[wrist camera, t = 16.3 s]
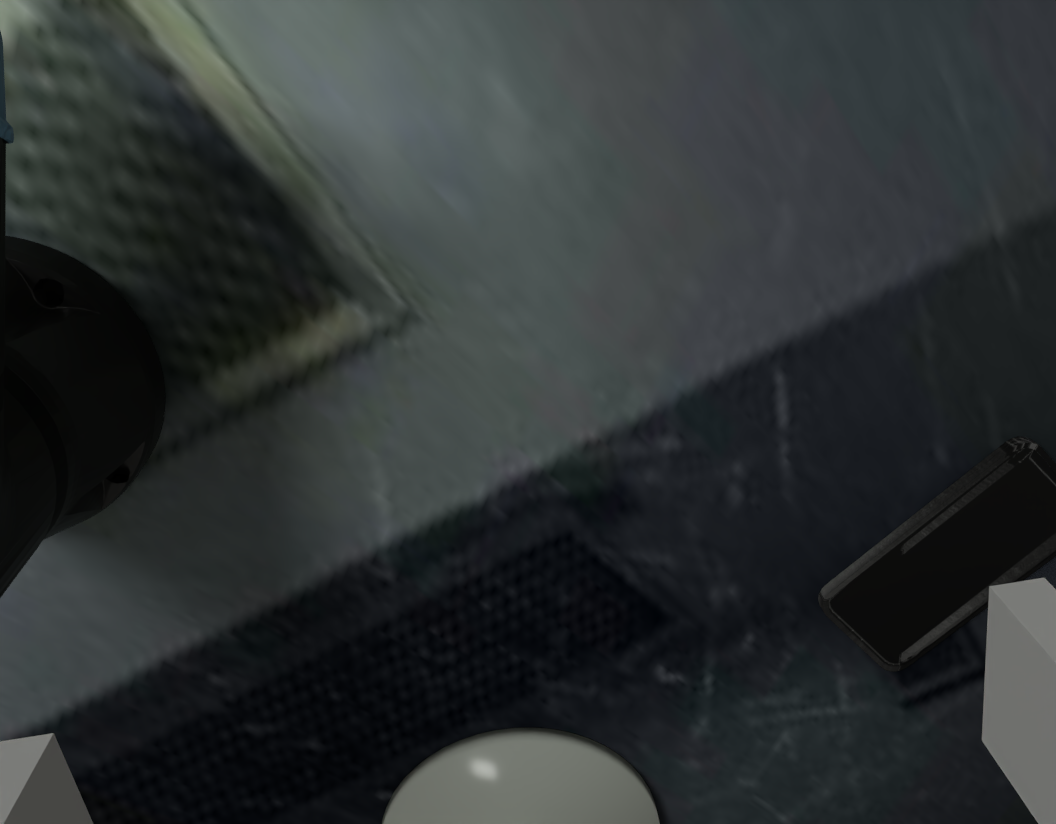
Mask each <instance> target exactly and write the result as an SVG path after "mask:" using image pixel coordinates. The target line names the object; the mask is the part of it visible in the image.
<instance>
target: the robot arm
mask: <svg viewBox="0 0 1056 824" xmlns="http://www.w3.org/2000/svg"><path fill="white" fill-rule="evenodd" d="M13 141H14V133H13V128H12V127H11V126H10V125H9V123H8V122H7V121H6V105H5V83H4V60H3V42H2V36H1V32H0V598H1V596H2V595H3V594H4V592H5V591H6V590H7V588H8V587H9V585H10V584H11V583H12V581H13V580H14V579H15V577H16V576H17V575H18V573H19V572H20V571H21V569H22V568H23V567H24V565H25V564H26V563H27V561H28V560H29V559H30V557H31V556H32V555H33V553H34V552H35V551H36V549H37V548H38V546H39V545H40V543H41V542H42V541H43V540H44V539H46V538H48V537H50V536H52V535H54V534H56V533H59V532H61V531H63V530H65V529H67V528H69V527H72V526H74V525H76V524H78V523H80V522H82V521H84V520H87V519H88V518H90V517H92V516H94V515H96V514H97V513H99V512H100V511H102V510H103V509H105V508H106V507H107V506H109V505H110V504H111V503H113V502H114V501H115V500H116V499H117V498H118V497H119V496H120V495H121V494H122V493H123V492H124V491H125V490H126V489H127V488H128V487H129V486H130V484H131V483H132V482H133V481H134V479H135V478H136V476H137V475H138V473H139V472H140V470H141V469H142V467H143V466H144V464H145V463H146V461H147V460H148V458H149V457H150V455H151V453H152V451H153V449H154V447H155V445H156V443H157V440H158V438H159V435H160V432H161V428H162V424H163V419H164V412H165V386H164V378H163V373H162V369H161V365H160V362H159V358H158V355H157V353H156V350H155V347H154V345H153V343H152V341H151V339H150V336H149V335H148V333H147V331H146V329H145V327H144V326H143V324H142V323H141V321H140V320H139V318H138V316H137V315H136V314H135V312H134V311H133V310H132V308H131V307H130V306H129V305H128V304H127V302H126V301H125V300H124V299H123V298H122V297H121V296H120V295H119V294H118V293H117V292H116V291H115V290H114V289H113V288H112V287H111V286H110V285H109V284H108V283H107V282H106V281H104V280H103V279H102V278H101V277H99V276H98V275H97V274H96V273H94V272H93V271H91V270H90V269H88V268H87V267H86V266H84V265H82V264H81V263H79V262H77V261H76V260H74V259H72V258H70V257H68V256H67V255H65V254H63V253H61V252H58V251H56V250H54V249H51V248H49V247H46V246H44V245H41V244H38V243H35V242H31V241H28V240H24V239H20V238H15V237H10V236H5V193H6V143H13ZM982 742H983V743H984V744H985V746H986V747H987V749H988V750H989V752H990V753H991V755H992V756H993V758H994V759H995V761H996V762H997V764H998V765H999V766H1000V768H1001V769H1002V771H1003V772H1004V774H1005V775H1006V777H1007V778H1008V780H1009V781H1010V783H1011V784H1012V786H1013V787H1014V789H1015V790H1016V791H1017V793H1018V794H1019V796H1020V797H1021V799H1022V800H1023V802H1024V803H1025V805H1026V806H1027V808H1028V809H1029V811H1030V812H1031V814H1032V815H1033V816H1034V818H1035V819H1036V821H1037V822H1038V824H1056V589H1055V588H1054V587H1053V586H1052V585H1051V584H1050V583H1049V582H1048V581H1047V580H1046V579H1045V578H1039V579H1033V580H1027V581H1020V582H1014V583H1007V584H1001V585H995V586H989V601H988V622H987V643H986V663H985V684H984V705H983V726H982ZM0 824H93V822H92V820H91V818H90V815H89V813H88V811H87V808H86V806H85V804H84V802H83V799H82V797H81V795H80V792H79V790H78V788H77V786H76V783H75V781H74V779H73V776H72V774H71V772H70V770H69V767H68V765H67V763H66V760H65V758H64V756H63V753H62V751H61V749H60V747H59V744H58V742H57V740H56V737H55V735H54V733H51V734H45V735H39V736H32V737H26V738H20V739H13V740H7V741H0Z"/></svg>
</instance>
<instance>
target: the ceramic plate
mask: <svg viewBox="0 0 1056 824" xmlns="http://www.w3.org/2000/svg"><path fill="white" fill-rule="evenodd" d="M382 824H660V822H659V818H658V813H657V809H656V805H655V801H654V799H653V796H652V794H651V792H650V789H649V787H648V786H647V784H646V783H645V781H644V780H643V778H642V776H641V775H640V774H639V773H638V772H637V771H636V770H635V769H634V767H633V766H632V765H631V764H630V763H628V762H627V761H626V760H625V759H624V758H622V757H621V756H620V755H619V754H617V753H616V752H614V751H612V750H611V749H609V748H608V747H606V746H604V745H602V744H600V743H598V742H596V741H593V740H591V739H589V738H586V737H583V736H580V735H577V734H574V733H570V732H565V731H560V730H555V729H546V728H535V727H534V728H509V729H500V730H494V731H490V732H485V733H481V734H477V735H474V736H471V737H468V738H465V739H462V740H459V741H457V742H455V743H453V744H451V745H448V746H446V747H444V748H442V749H441V750H439V751H437V752H436V753H434V754H432V755H431V756H429V757H428V758H426V759H425V760H424V761H423V762H421V763H420V764H419V765H417V766H416V767H415V768H414V769H413V770H412V771H411V772H410V773H409V774H408V775H407V776H406V777H405V778H404V779H403V780H402V782H401V783H400V785H399V786H398V787H397V789H396V790H395V791H394V793H393V795H392V797H391V799H390V801H389V803H388V805H387V807H386V810H385V813H384V816H383V819H382Z"/></svg>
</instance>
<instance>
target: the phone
mask: <svg viewBox="0 0 1056 824" xmlns="http://www.w3.org/2000/svg"><path fill="white" fill-rule="evenodd" d="M1055 556H1056V464H1055V463H1054V461H1053V460H1052V459H1051V458H1050V457H1049V456H1048V454H1047V453H1046V452H1045V451H1044V450H1043V449H1042V447H1040V446H1039V445H1038V444H1037V443H1035V442H1034V441H1033V440H1031V439H1030V438H1027V437H1015V438H1012V439H1010V440H1008V441H1007V442H1005V443H1004V444H1003V445H1001V446H1000V447H999V448H998V449H996V450H995V451H994V452H992V453H991V454H990V455H989V456H987V457H986V458H985V459H984V460H982V461H981V462H980V463H979V464H977V465H976V466H975V467H974V468H972V469H971V470H970V471H969V472H967V473H966V474H965V475H964V476H962V477H961V478H960V479H958V480H957V481H956V482H955V483H953V484H952V485H951V486H950V487H948V488H947V489H946V490H945V491H943V492H942V493H941V494H940V495H938V496H937V497H936V498H935V499H933V500H932V501H931V502H929V503H928V504H927V505H926V506H924V507H923V508H922V509H921V510H919V511H918V512H917V513H916V514H914V515H913V516H912V517H911V518H909V519H908V520H907V521H906V522H904V523H903V524H902V525H901V526H899V527H898V528H897V529H895V530H894V531H893V532H892V533H890V534H889V535H888V536H887V537H885V538H884V539H883V540H882V541H880V542H879V543H878V544H877V545H875V546H874V547H873V548H872V549H870V550H869V551H868V552H866V553H865V554H864V555H863V556H861V557H860V558H859V559H858V560H856V561H855V562H854V563H853V564H851V565H850V566H849V567H848V568H846V569H845V570H844V571H843V572H841V573H840V574H839V575H838V576H836V577H835V578H834V579H832V580H831V581H830V582H829V583H827V584H826V585H825V586H824V587H823V588H822V589H821V591H820V593H819V598H818V601H819V605H820V606H821V608H822V610H823V612H824V613H825V614H826V616H827V617H828V618H829V619H830V620H831V621H833V622H834V623H835V624H836V625H837V626H838V627H839V628H840V629H841V630H842V631H843V632H844V633H845V634H846V635H847V636H849V637H850V638H851V639H852V640H853V641H854V642H855V643H856V644H857V645H858V646H859V647H860V648H861V649H862V650H863V651H865V652H866V653H867V654H868V655H869V656H870V657H871V658H872V659H873V660H874V661H875V662H876V663H877V664H878V665H879V666H881V667H882V668H883V669H885V670H887V671H899V670H903V669H905V668H906V667H908V666H909V665H911V664H912V663H913V662H915V661H916V660H917V659H919V658H920V657H921V656H923V655H924V654H925V653H927V652H928V651H930V650H931V649H932V648H934V647H935V646H936V645H938V644H939V643H940V642H942V641H943V640H944V639H946V638H947V637H948V636H950V635H951V634H952V633H954V632H955V631H956V630H958V629H959V628H960V627H962V626H963V625H964V624H966V623H967V622H968V621H970V620H971V619H972V618H974V617H975V616H976V615H978V614H979V613H980V612H982V611H983V610H984V609H986V608H987V607H988V601H989V586H995V585H1001V584H1007V583H1014V582H1020V581H1023V580H1024V579H1026V578H1027V577H1028V576H1030V575H1031V574H1032V573H1034V572H1035V571H1036V570H1038V569H1039V568H1040V567H1042V566H1043V565H1044V564H1046V563H1047V562H1048V561H1050V560H1051V559H1052V558H1054V557H1055Z"/></svg>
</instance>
